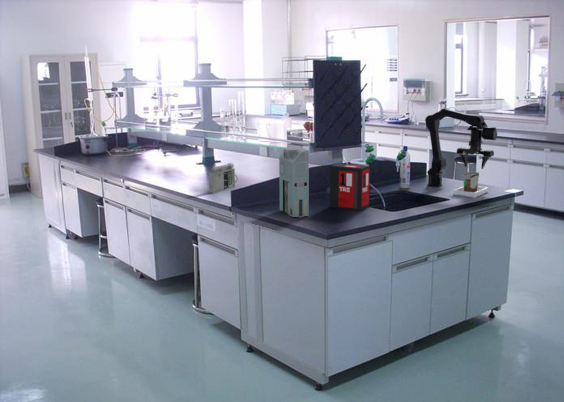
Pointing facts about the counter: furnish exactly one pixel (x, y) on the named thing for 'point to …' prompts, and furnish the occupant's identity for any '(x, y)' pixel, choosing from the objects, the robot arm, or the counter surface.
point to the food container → (470, 181)
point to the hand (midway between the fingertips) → (474, 168)
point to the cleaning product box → (349, 186)
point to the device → (294, 181)
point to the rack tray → (461, 192)
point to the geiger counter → (222, 178)
